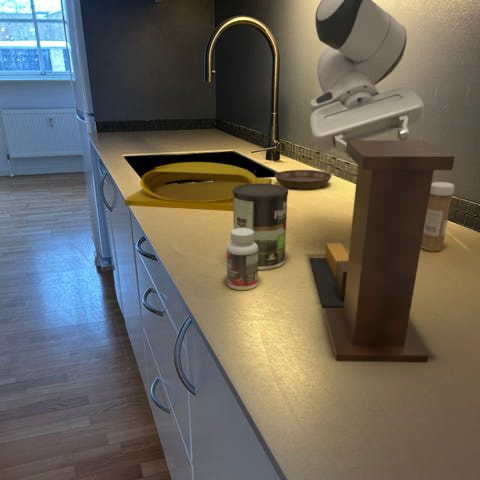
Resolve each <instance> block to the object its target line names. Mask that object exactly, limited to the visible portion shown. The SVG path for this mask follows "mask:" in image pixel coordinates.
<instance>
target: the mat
mask: <svg viewBox="0 0 480 480" xmlns="http://www.w3.org/2000/svg"><path fill="white" fill-rule="evenodd" d="M309 263H310V266H311V270H312V274H313V278H314V281H315V285H316V289H317V294H318V297H319V302H320V304H321V308H322V309H324V308H344V300H340V298H339V296H338V294H337V292H336V290H335V277H334V275H333V273H332V271H331V269H330V267H329V265H328V263H327V261H326V259H325V257H309Z"/></svg>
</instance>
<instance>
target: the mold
mask: <svg viewBox="0 0 480 480" xmlns="http://www.w3.org/2000/svg"><path fill="white" fill-rule="evenodd" d="M176 181H200V182H201V181H202V182H225V183H245V184H256V183H265V184H272V178H271V177H270V178H269V177H265V178H264V177H257V176H256V175H255V174H253V172H251V171H249V170H248V169H245V168H242V167H239V166H237V165H236V166H235V165H231V164H226V163H219V162H208V161H207V162H206V161H205V162H204V161H191V162H190V161H188V162H187V161H185V162H175V163H169V164H164V165H160V166H156V167H155V168H154V169H151V170H149V171H147V172H145V173H143V174H142V176H141V180H140V182H139V183H140V184H139V185H140V187H141V189H140V190H139V191H138V192H136V193H134V194H133V195H131V196H129V197H127V198H126V199H125V200H124V205H125V206H134V207H135V206H136V207H154V208H155V207H156V208H172V209H173V208H175V209H190V210H191V209H192V210H193V209H195V210H210V211H211V210H213V211H231V212H232V211H233V194H232V195H229V196H226V197H219V198H213V199H202V200H201V199H199V200H196V199H195V200H194V199H193V200H192V199H188V200H187V199H178V198H171V197H167V196H162V195H159V194H157V193H155V191H156V190H157V189H159V188H161V187H162V186H164V185H165V184H167V183H171V182H176Z"/></svg>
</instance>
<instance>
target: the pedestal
mask: <svg viewBox="0 0 480 480" xmlns="http://www.w3.org/2000/svg"><path fill="white" fill-rule="evenodd" d="M346 153H347V154H348V155H349V156H350V157H349V158H350V159H351V160H352V161H354V163H355V164H356V165H357V171H356V180H355V189H354V201H353V210H352V220H351V229H350V239H349V249H348V255H349V259H348V269H347V279H346V288H345V298H344V308H323V316H324V320H325V323H326V327H327V331H328V335H329V340H330V342H331V346H332V351H333V354H334V358H335V361H337V362H338V361H339V362H401V363H402V362H404V363H405V362H407V363H408V362H409V363H411V362H412V363H428V360H429V353H428V352H427V350H426V349H425V348H426V347H424V344H423V343H422V342H421V340H420V338H419V336H418V335H417V333H416V331H415V329H414V328H413V326H412V324H411V323H410V321H409V320H410V316H411V315H410V314H411V309H412V304H413V303H412V302H413V297H414V291H415V285H416V279H417V274H418V267H419V261H420V256H421V255H420V254H421V249H422V248H421V244H422V238H423V232H424V226H425V220H426V214H427V208H428V202H429V196H430V190H431V184H432V183H433V177H434V172H435V171H453V168H454V162H455V158H456V157H455V156H454V155H453V154H451V153H449V152H447V151H445V150H442V149H441V148H439V147H437V146H434V145H433V144H431V143H429V142H427V141H425V140H405V141H402V140H400V139H397V140H393V139H392V140H388V139H387V140H386V139H385V140H384V139H383V140H382V139H381V140H379V139H378V140H374V139H373V140H367V139H364V140H347V142H346ZM346 153H345V154H346Z"/></svg>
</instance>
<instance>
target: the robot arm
mask: <svg viewBox="0 0 480 480" xmlns="http://www.w3.org/2000/svg"><path fill="white" fill-rule="evenodd" d="M315 30H316V35H317V38H318V40H319V41H320V42H321V43H323V44H325V45H326V46H328V47H327V48H325V49H324V50H323V52H321V55H320V56H319V59H318V61H317V67H316V68H317V70H316V71H317V72H316V73H317V79H318V83H319V86H320V88H321V91H322V94H320V95H319V96H317V97H316V98H314V99H312V100H311V101H310V103H309V114H310V116H309V125H310V134H311V139H312V145H313V148H314V151H316V152H318V153H324V152H327V151H330V150H333V149H336V150H337V151H340V152H341V153H345V156H346V157H347V158H351V157H350V156H349V155H348V154H347V153H346V142H347V140H367V139H370V138H374V137H377V136H380V135H384V134H387V133H390V132H393V131H397V140H402V141H410V131H409V127H410V126H415V125H417V124H419V123H421V122H422V121H423V118H424V117H425V115H424V114H425V103H424V101H423V100H422V98H421V97H420V96H419V95H418V94H417V93H416V92H415V91H414V90H413V89H412V88H409V87H404V86H403V87H397V88H394V89H391V90H387V91H384V92H381V93H380V92H379V90H378V89H377V87H376V85H377V84H379V83H380V82H382V81H383V80H385V79H386V78H387V77H388V76H389V75H390V74H391V73H392V72H393V71H394V70H396V67H397V66H398V65H400V63H401V61H402V59H403V56H404V54H405V50H406V46H407V37H408V36H407V30H406V28H405V26H403V25H402V24H401V23H400V22H399V21H398V20H397V19H396V18H395V17H394V16H393V15H391V14H389V12H387V11H385V10H384V9H383V8H382V7H381V6H379V4H377V3H376V2H375V1H374V0H321V1H320V2H319V4H318V6H317V8H316V10H315Z"/></svg>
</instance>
